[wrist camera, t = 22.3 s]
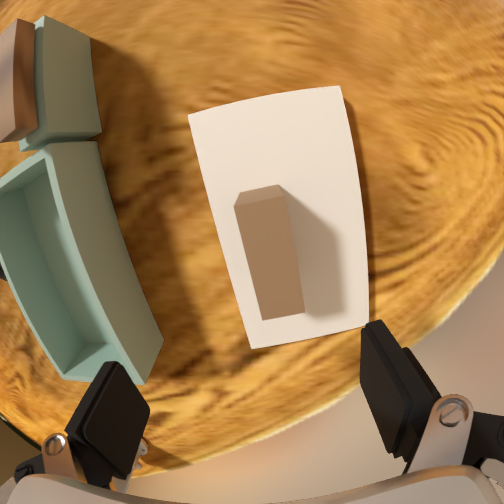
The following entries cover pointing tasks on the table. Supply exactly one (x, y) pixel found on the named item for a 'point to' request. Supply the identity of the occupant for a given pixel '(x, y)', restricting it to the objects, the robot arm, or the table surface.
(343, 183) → the lid
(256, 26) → the table surface
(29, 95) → the brown rectangular block
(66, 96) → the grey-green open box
